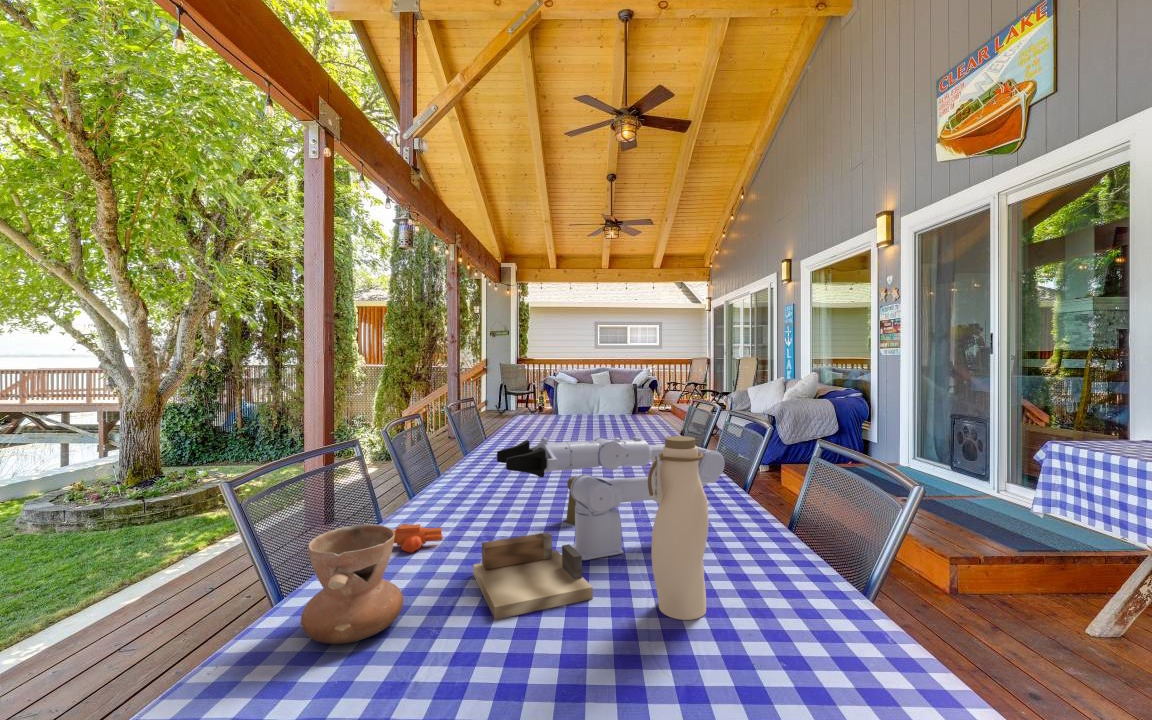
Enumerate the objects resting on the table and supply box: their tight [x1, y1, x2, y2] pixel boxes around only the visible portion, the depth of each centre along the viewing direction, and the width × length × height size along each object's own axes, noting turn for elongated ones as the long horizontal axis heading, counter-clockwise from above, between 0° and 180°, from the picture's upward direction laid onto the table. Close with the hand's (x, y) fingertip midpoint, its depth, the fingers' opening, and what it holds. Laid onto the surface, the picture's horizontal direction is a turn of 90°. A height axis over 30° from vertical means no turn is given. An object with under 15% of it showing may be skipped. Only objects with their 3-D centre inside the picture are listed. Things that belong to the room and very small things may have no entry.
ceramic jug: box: [300, 523, 404, 645], centre depth 79 cm, size 18×14×14 cm
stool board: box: [472, 544, 594, 621], centre depth 91 cm, size 17×18×6 cm
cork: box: [565, 476, 577, 525], centre depth 128 cm, size 6×6×11 cm
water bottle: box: [647, 435, 709, 621], centre depth 82 cm, size 10×9×28 cm
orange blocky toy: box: [391, 523, 443, 554], centre depth 110 cm, size 5×8×12 cm
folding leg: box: [481, 532, 553, 570], centre depth 97 cm, size 14×3×4 cm, turn 112°
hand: (501, 460), depth 100 cm, fingers open, 7 cm apart
